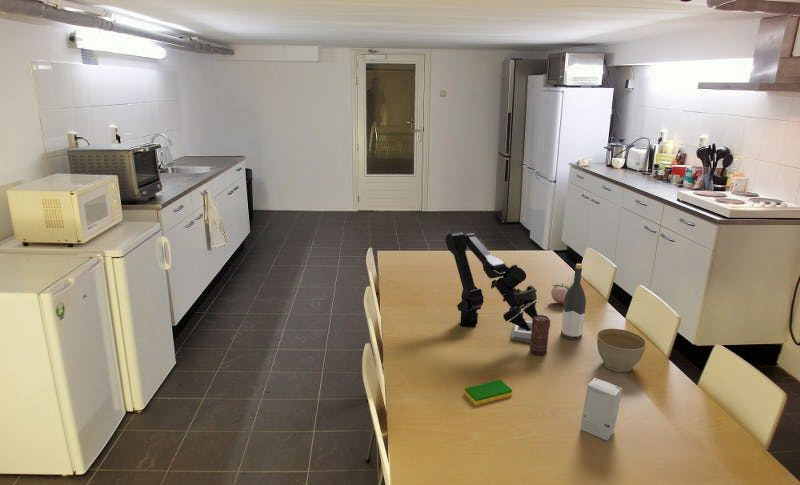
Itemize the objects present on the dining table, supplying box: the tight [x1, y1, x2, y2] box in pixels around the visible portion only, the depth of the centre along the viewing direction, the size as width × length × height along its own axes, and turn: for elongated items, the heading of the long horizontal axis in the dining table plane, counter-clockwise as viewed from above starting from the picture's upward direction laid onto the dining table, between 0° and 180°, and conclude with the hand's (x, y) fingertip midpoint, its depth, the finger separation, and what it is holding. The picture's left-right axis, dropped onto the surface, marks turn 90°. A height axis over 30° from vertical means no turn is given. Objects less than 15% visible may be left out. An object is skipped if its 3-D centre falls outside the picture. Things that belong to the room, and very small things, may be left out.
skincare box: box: [579, 377, 623, 441], centre depth 153 cm, size 8×6×15 cm
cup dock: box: [510, 320, 532, 344], centre depth 213 cm, size 13×13×4 cm
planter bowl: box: [596, 328, 648, 373], centre depth 189 cm, size 16×16×11 cm
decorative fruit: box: [550, 283, 571, 305], centre depth 243 cm, size 9×8×10 cm
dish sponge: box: [464, 379, 513, 406], centre depth 172 cm, size 7×14×2 cm, turn 114°
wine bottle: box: [560, 263, 587, 341], centre depth 210 cm, size 8×8×30 cm
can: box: [529, 314, 551, 357], centre depth 198 cm, size 6×6×14 cm
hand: (534, 326), depth 199 cm, fingers open, 9 cm apart
